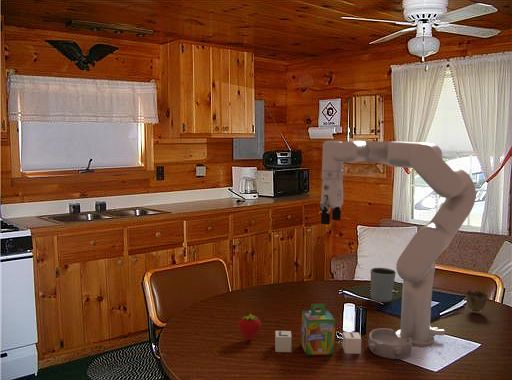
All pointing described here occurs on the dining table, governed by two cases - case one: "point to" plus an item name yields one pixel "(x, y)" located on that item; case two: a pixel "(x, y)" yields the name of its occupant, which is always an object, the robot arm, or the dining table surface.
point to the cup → (476, 301)
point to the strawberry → (249, 326)
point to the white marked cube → (283, 341)
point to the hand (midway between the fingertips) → (330, 222)
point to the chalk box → (318, 331)
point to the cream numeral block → (352, 342)
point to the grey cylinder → (382, 284)
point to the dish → (389, 344)
